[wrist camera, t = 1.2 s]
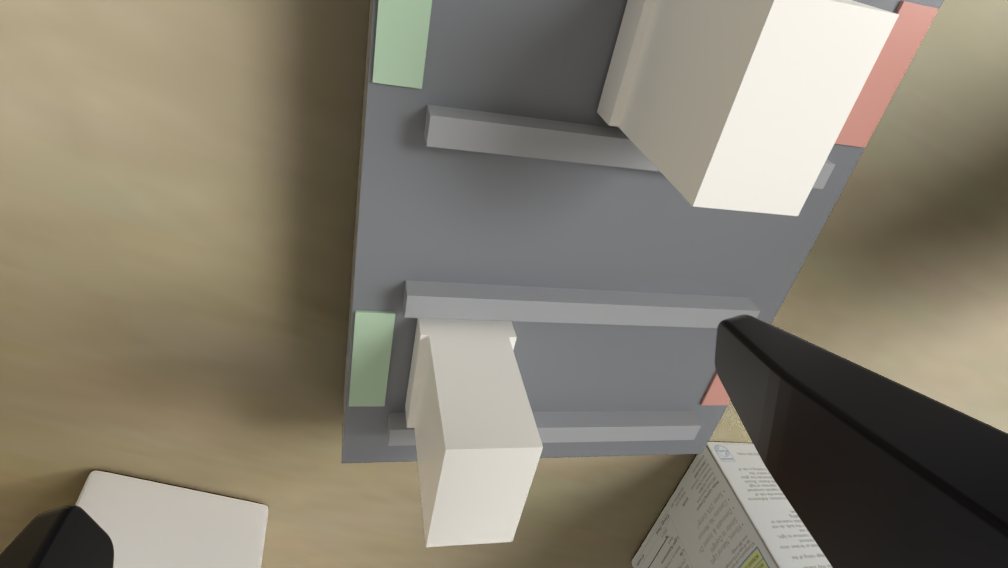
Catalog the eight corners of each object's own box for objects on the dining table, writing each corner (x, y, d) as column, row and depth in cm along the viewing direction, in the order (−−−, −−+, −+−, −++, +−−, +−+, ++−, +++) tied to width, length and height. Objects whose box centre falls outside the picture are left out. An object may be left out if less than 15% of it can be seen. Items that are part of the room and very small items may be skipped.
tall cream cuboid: (510, 318, 20) (552, 447, 16) (488, 406, 22) (520, 541, 18) (418, 314, 19) (435, 449, 15) (404, 406, 21) (416, 547, 17)
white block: (752, -31, 15) (910, 16, 11) (695, 125, 17) (807, 217, 13) (642, -55, 14) (764, -13, 10) (596, 112, 17) (681, 205, 12)
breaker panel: (919, -125, 18) (1036, -119, 15) (673, 403, 29) (710, 468, 26) (388, -275, 14) (397, -312, 11) (342, 404, 25) (341, 481, 22)
